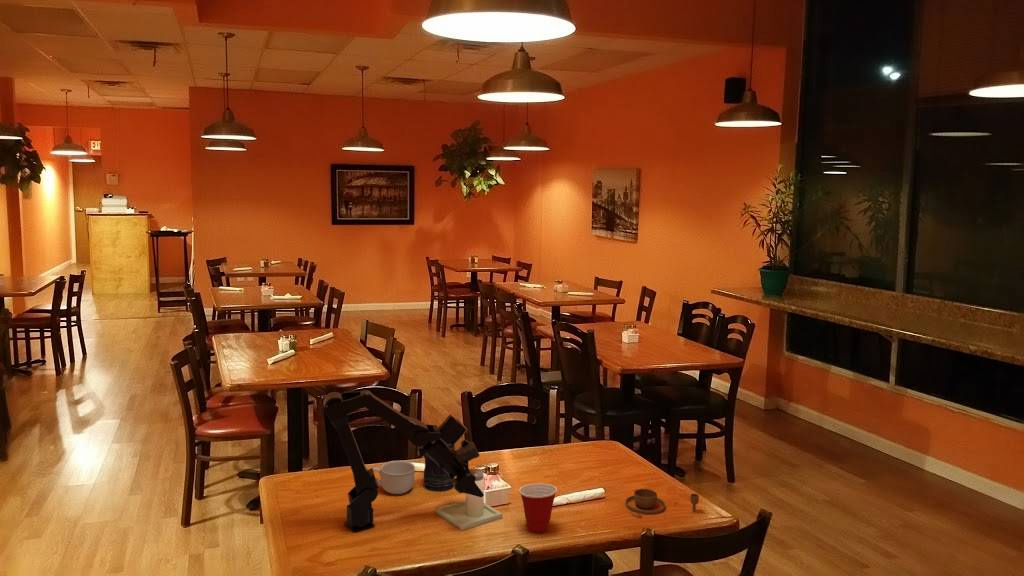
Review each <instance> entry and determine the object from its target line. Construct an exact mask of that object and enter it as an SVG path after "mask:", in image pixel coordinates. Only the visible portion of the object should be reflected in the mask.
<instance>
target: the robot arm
mask: <svg viewBox="0 0 1024 576" xmlns="http://www.w3.org/2000/svg"><path fill="white" fill-rule="evenodd" d="M323 409H324V413H325V415H326V417H327V418H328V420H329V421H330V423H331V425H333V427H334V428H335V430H336V433H337V436H338V438H339V440H340V442H341V445H342V449H343V451H344V452H345V456H346V459H347V461H348V464H349V467H350V469H351V472H352V476H353V480H354V481H353V483H354V487H352V488H351V490H349V491H348V492H347V497H348V503H349V504H347V505H346V521H344V522H343V525H345V526H346V528H348V529H349V530H350V531H352V532H353V533H358V532H360V531H361V532H362V531H365V530H368V529H372V528H374V527H375V526H376V525H375V524H374V508H373V504H372V503H373V502H374V501H375V500H376V499H377V497H378V495H379V491H378V489H380V485H379V483H378V481H377V479H378V478H377V477H376V476H375V471H374V472H373V468H374V467H371V468H369V469H368V468H367V466H366V465H365V463H364V461H363V457H362V454H361V452H360V449H359V446H358V444H357V441H356V438H355V436H354V433H353V431H352V428H351V426H350V422H349V418H348V414H349V413H353V412H356V411H359V410H361V409H367V410H368V411H370V412H372V413H373V414H374V415H376V416H378V417H379V418H380V419H382V420H384V421H385V422H386V423H388V424H390V425H391V426H393V427H394V428H396V429H397V430H399V431H400V432H401V433H402V434H403V436H404V437H405V438H406V439H407V440H408V441H409V442H410V443H411V444H412V445H414V446H415V447H417V455H418V458H419V459H422V458H424V455H425V454H427V455H428V456H429V457H430V458H431V459H432V460H433V461H434V462H435V463H436V464H437V465H438V466H439V468H440V469H441V470H442V469H443V470H444V471H445V472H446V473H447V474H448V475H449V477H450V478H451V479H452V478H453V477H454V476H455V479H454V480H453V485H454V487H453V489H454V490H455V491H456V492H457V493H459V494H465V495H466V494H470V495H474V496H478V497H483V496H484V497H485V493H484V494H483V492H482V491H481V490H480V488H479V487H478V486H477V484H476V483H475V480H476V477H475V475H474V474H473V473H472V471H471V470H470V469H471V468H469V462H470V461H472V460H474V459H477V458H479V457H480V453H479V451H478V449H477V447H476V444H475V442H474V441H472V440H471V441H468V439H466V438H465V439H463V440H461V441H460V446H459V448H458V449H455V450H454V449H453V448H449V447H448V446H447V445H446V444H445V443H444V442H443V441H442V440H440V438H442V439H443V440H444V441H445V442H446V443H447V444H451V445H452V444H456V443H457V442H458V441H459V440H460V439H461V438H462V437H463V435H465V434H466V433H467V432H468V428H467V427H466V426H465V425H464V424H463V423H462V422H461V421H460V420H459V418H456V417H455V416H453V415H452V414H450V413H449V415H447V417H446V419H444V421H443V422H442V423H441V424H440V425H439V426H437V425H436V424H427V423H426V422H423V421H421V420H419V419H416V418H414V417H411V416H407V415H405V414H403V413H401V412H400V411H399V410H397V409H395V408H394V407H393V406H391V405H390V404H388V403H386V402H385V401H383V400H382V399H380V398H379V397H377V396H376V395H374V394H373V393H372V392H371V391H370V390H368V389H363V390H358V391H344V392H338V391H331V392H329V393H327V394H326V395H325V397H323ZM376 478H377V479H376Z"/></svg>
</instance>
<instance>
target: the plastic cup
mask: <svg viewBox="0 0 1024 576" xmlns="http://www.w3.org/2000/svg"><path fill="white" fill-rule="evenodd" d="M557 491H558V488H557V487H556V486H555V485H553V484H550V483H544V482H543V483H541V482H540V483H539V482H538V483H530V484H529V483H528V484H525V485H522V486H521V487H519V490H518V493H519V494H520V496H521V500H522V504H523V511H524V518H525V522H526V527H527V529H526V530H527V531H528V532H530V533H532V532H534V533H533V534H542V533H541V532H544V533H546V532H547V531H548V529H549V524H550V520H551V518H552V516H551V515H552V511H553V505H554V501H555V496H556V494H557ZM546 530H547V531H546ZM545 531H546V532H545Z"/></svg>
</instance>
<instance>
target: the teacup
mask: <svg viewBox="0 0 1024 576" xmlns="http://www.w3.org/2000/svg"><path fill="white" fill-rule="evenodd" d="M372 468H373V472H374V473H375V472H377V473H378V474H379V476H380V479H379V478H377V477H375V478H376V479H377V481H378V485H379V487H380V486H381V487H382V488H383V490H385V492H387V493H388V494H391V495H397V494H398V495H403V494H407V492H409V491H410V490H411V489H412V488H413V487H414V484H415V478H416V477H415V474H416V473H415V472H416V466H415V464H413V463H412V462H410V461H406V460H391V461H386V462H385V463H383V464H382V465H381V466H380V467H377V466H376V467H372Z"/></svg>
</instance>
